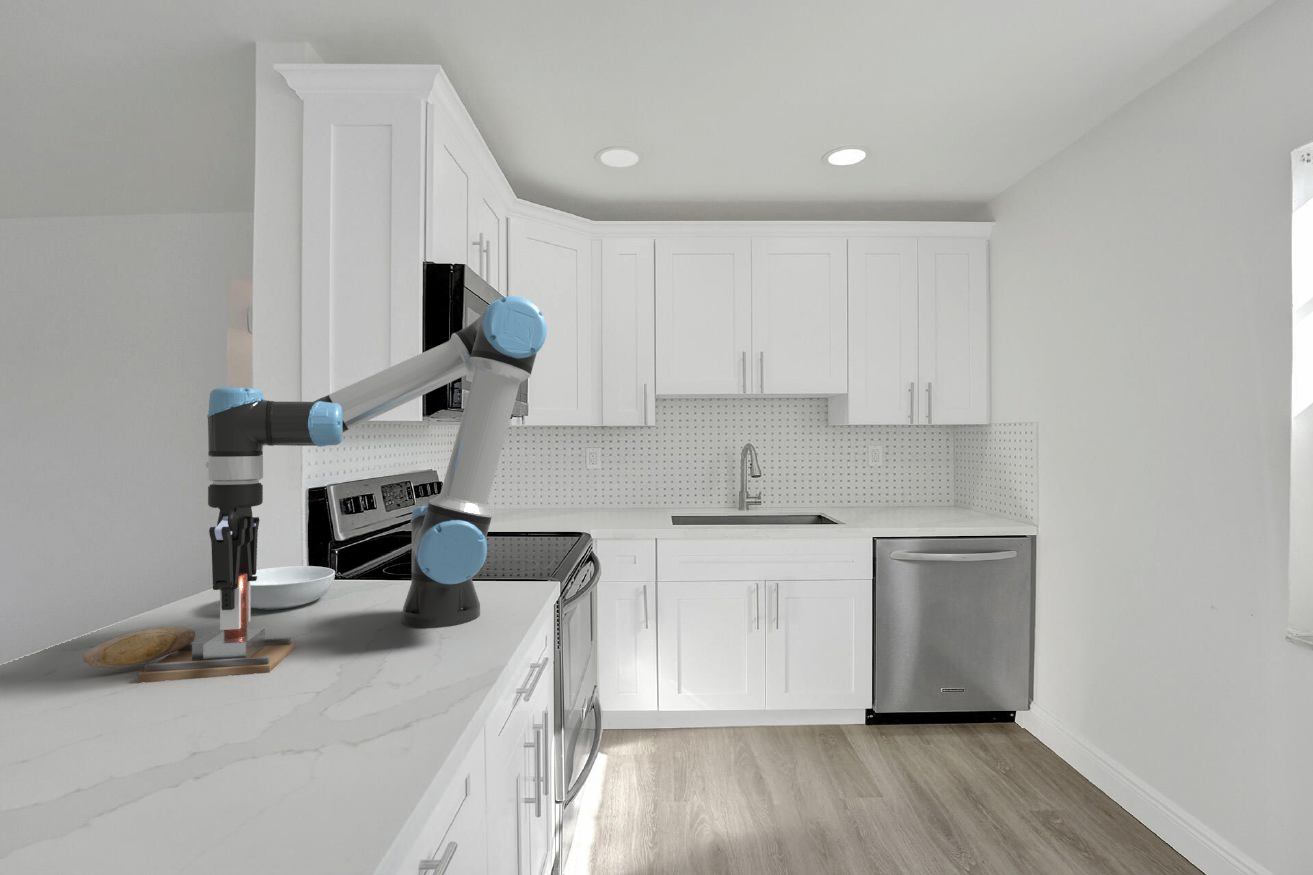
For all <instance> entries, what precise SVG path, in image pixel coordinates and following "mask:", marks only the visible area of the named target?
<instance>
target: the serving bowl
mask: <svg viewBox="0 0 1313 875" xmlns="http://www.w3.org/2000/svg"><path fill="white" fill-rule="evenodd" d="M335 575H336V571H335V569H332V568H329V567H323V566H313V565H307V566H306V565H302V566H301V565H300V566H298V565H297V566H296V565H295V566H293V565H292V566H291V565H290V566H279V567H269V568H261V569H256V574H255V575H252V576H257V580H256V581H249V582H251V590H250V609H252V608H253V609H260V610H266V611H272V610H273V611H274V610H284V609H285V610H286V609H289V608H290V609H291V608H295V607H300V606H302V605H307V604H309V603H312V602H314V601H316V600H318V599H320V598H322V597H323V596H324V595H325V594H327V593H328V592H329V591H330V589H331V588H332V586H333V584H334V581H335V577H336V576H335Z"/></svg>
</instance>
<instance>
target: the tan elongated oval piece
mask: <svg viewBox="0 0 1313 875" xmlns="http://www.w3.org/2000/svg"><path fill="white" fill-rule="evenodd" d="M196 634H197V633H196V630H193V629H189V628H181V627H170V626H169V627H166V626H165V627H164V626H163V627H156V628H150V629H149V628H147V629H143V630H137V631H134V632H129V633H126V634H121V635H118V636H116V637H114V638H111V639H108V640H107V641H104V642H102V643H100V644H98V645H95V646H94V647H92V648H90V649H88V650H86V651H84V652H82V655H81V658H82V662H84V663H85V664H86V665H87V666H89V667H91V668H95V669H96V668H97V669H118V668H119V669H121V668H128V667H133V666H140V665H143V664H148V663H151V662H153V661H156V660H158V659H161V658H164V657H166V656H168V655H170V654H171V653H173V652H175V651H177V650H180V649H182V648H184V647H186V646H187V645H189V644H191V643H194V642H195V640H196Z"/></svg>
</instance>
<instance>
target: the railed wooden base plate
mask: <svg viewBox="0 0 1313 875" xmlns="http://www.w3.org/2000/svg"><path fill="white" fill-rule="evenodd" d="M291 640H292V639H291V637H278V638H277V637H276V638H275V637H274V638H265V646H264V647H262V648H261V649H260V650H259V651H258V652H256V653H255V654H254V655H253V656H252V657H250V658H234V659H218V660H202V661H192V643H193V642H192V643H191V644H189V645H187V646H186V647H184V648H182V649H180V650H177V651H175V652H172V653H170V654H168V655H166V656H164V657H162V659H160V660H158V661H157V662H155V663H145V665H144V670H142V671H141V672H139V673H137V679H138V680H137V683H138V684H143V683H142V682H145V683H154V682H166V681H165V680H170V681H179V680H182V681H183V680H192V679H193V680H194V679H205V678H206V679H207V678H216V677H229V676H228V675H232V676H240V675H241V676H242V675H243V676H244V675H253V674H254V673H257V674H265V673H266V674H269V673H271V672H272V671H273V670H274V669H275V668H276V667H277V666H278V665H279V664H280V663H281V662H282V661H284V660H285V658H287V657H288V656H289V655H290V654H292V652H293V651H294V650H295V649H296V641H291ZM270 671H271V672H270ZM254 675H255V674H254Z"/></svg>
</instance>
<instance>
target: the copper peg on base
mask: <svg viewBox="0 0 1313 875" xmlns="http://www.w3.org/2000/svg"><path fill="white" fill-rule="evenodd" d="M237 588H241V628H240V629H230V630H222V631H210V632H208V633H207V634H205V635H203V636H201V637H200V638H199V639H197V640H196V641H195V640H194V641H193V642H192V661H202V660H218V659H234V658H250V657H252V656H253V655H254V654H255V653H256V652H258V651H259V650H260V649H261V648H262V647H264V646H265V639H266V627H256V628H248V622H247V573H239V578H238V587H237Z"/></svg>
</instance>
